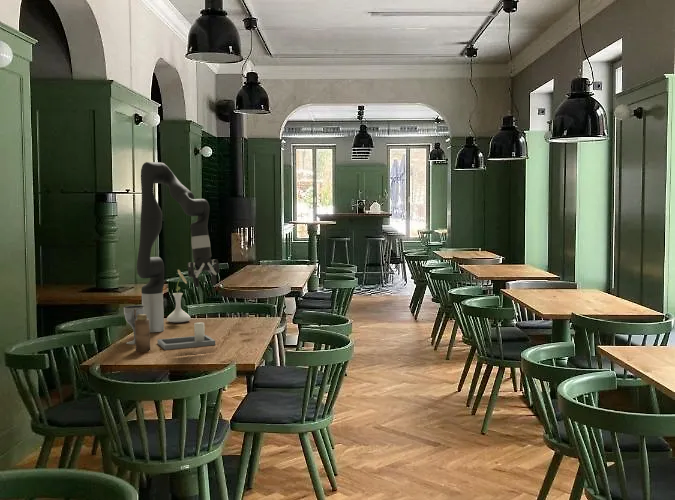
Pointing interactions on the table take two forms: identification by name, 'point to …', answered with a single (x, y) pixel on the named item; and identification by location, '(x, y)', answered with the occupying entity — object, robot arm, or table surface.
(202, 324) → the salt shaker
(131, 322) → the wine glass
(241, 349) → the table surface
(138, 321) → the brown bottle
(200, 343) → the condiment tray
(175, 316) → the flower in vase
